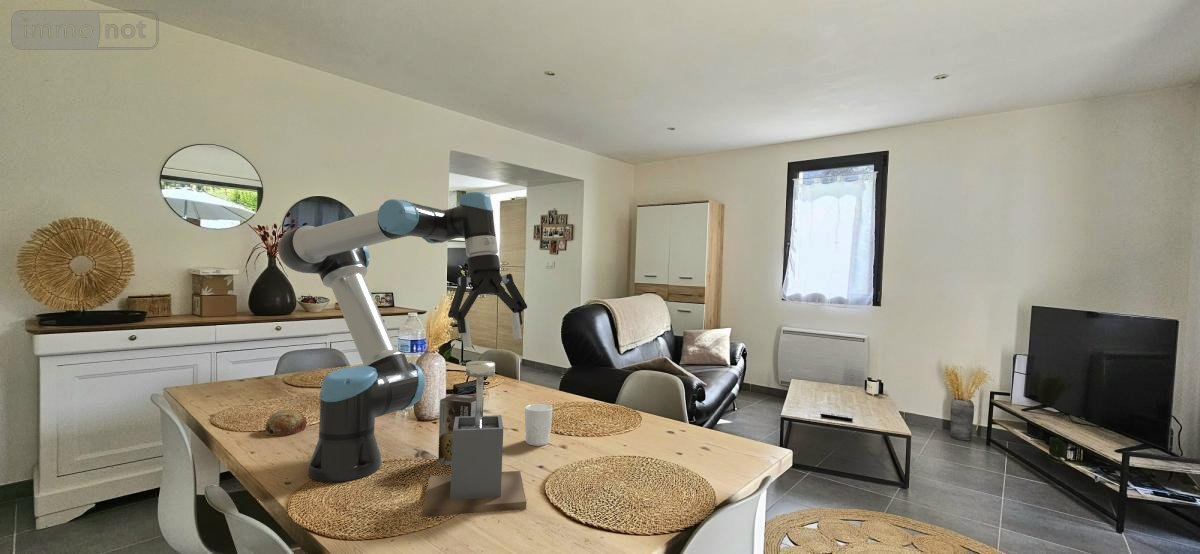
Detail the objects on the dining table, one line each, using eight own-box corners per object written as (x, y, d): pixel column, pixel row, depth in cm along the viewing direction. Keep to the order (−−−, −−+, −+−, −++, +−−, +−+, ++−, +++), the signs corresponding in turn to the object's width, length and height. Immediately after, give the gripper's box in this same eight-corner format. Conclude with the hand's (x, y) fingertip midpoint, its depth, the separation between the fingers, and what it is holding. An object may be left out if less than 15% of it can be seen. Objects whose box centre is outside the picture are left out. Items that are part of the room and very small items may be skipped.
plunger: (458, 440, 97) (461, 366, 97) (460, 429, 104) (463, 360, 105) (496, 439, 99) (499, 366, 99) (495, 428, 106) (498, 360, 107)
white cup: (549, 447, 133) (550, 411, 133) (521, 446, 133) (522, 410, 133) (552, 438, 141) (554, 404, 141) (526, 437, 141) (527, 403, 141)
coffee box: (482, 459, 122) (485, 396, 122) (469, 468, 116) (471, 402, 116) (451, 455, 124) (453, 393, 125) (436, 463, 118) (439, 398, 118)
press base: (421, 517, 91) (421, 509, 91) (429, 482, 107) (430, 476, 107) (526, 509, 96) (526, 501, 96) (519, 477, 112) (520, 470, 112)
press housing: (450, 500, 95) (452, 430, 96) (452, 480, 105) (455, 416, 105) (500, 496, 98) (503, 428, 98) (498, 477, 108) (501, 415, 108)
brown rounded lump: (262, 444, 137) (251, 422, 134) (292, 420, 146) (282, 399, 143) (288, 449, 134) (278, 426, 131) (317, 424, 143) (308, 403, 140)
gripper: (440, 253, 105) (451, 350, 103) (533, 252, 122) (544, 334, 120) (426, 260, 110) (437, 351, 108) (517, 258, 127) (528, 337, 125)
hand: (493, 343), depth 114 cm, fingers open, 13 cm apart
